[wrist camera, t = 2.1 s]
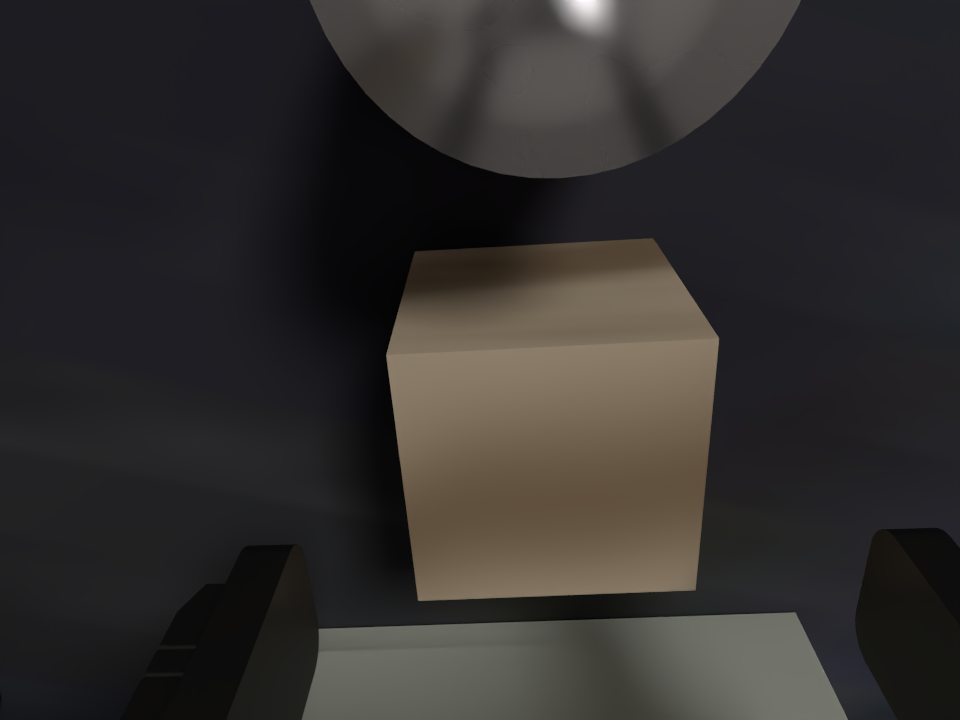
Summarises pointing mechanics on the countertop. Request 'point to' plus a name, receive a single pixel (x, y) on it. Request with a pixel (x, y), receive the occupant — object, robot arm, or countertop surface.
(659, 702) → the tote
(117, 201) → the countertop surface
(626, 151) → the grey metal cylinder
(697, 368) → the beech cube
